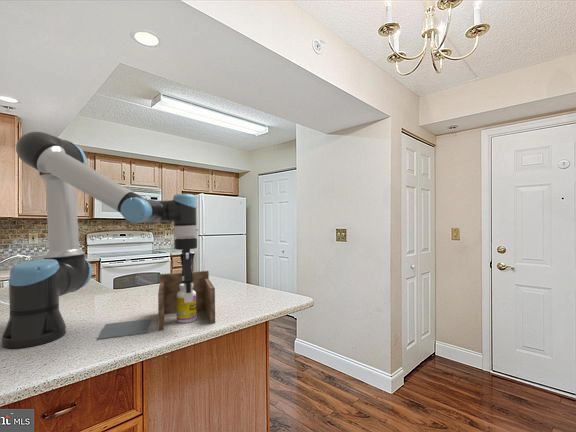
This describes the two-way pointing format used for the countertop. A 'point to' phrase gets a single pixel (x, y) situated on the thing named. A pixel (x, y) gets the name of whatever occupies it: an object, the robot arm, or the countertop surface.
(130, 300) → the countertop surface
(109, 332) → the slate mat
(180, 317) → the supplement bottle
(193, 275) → the cubby
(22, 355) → the countertop surface
